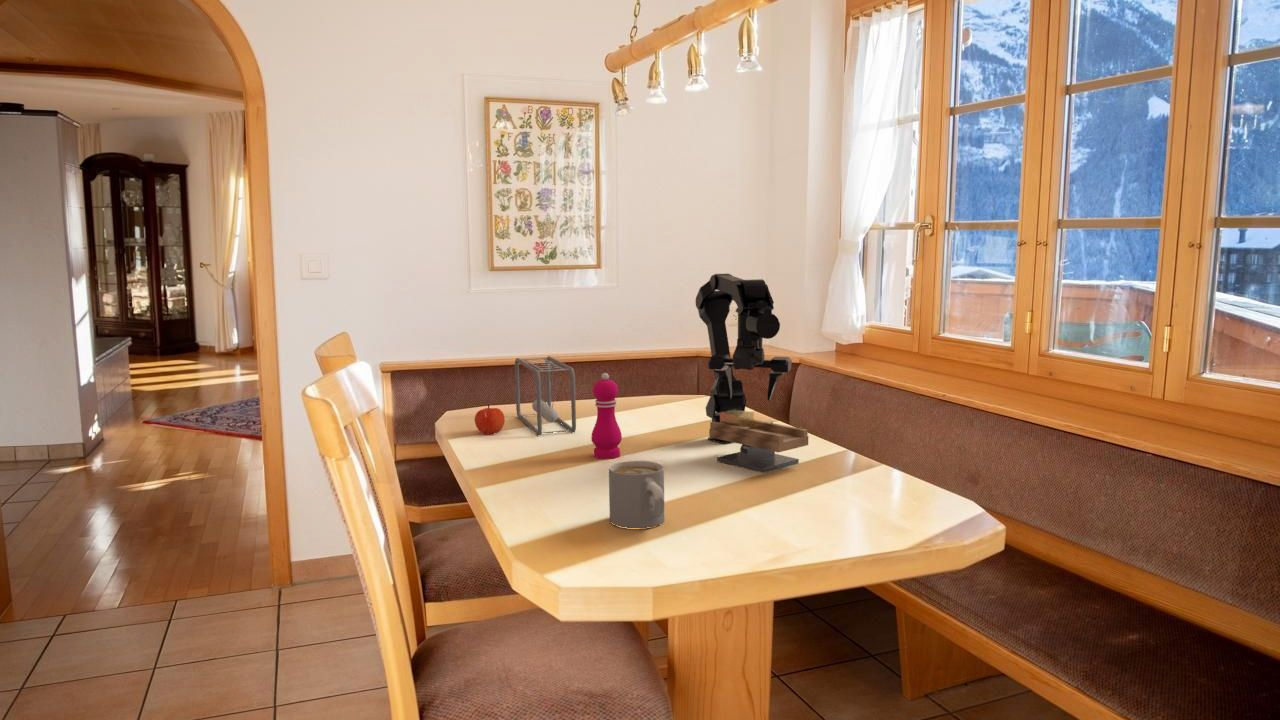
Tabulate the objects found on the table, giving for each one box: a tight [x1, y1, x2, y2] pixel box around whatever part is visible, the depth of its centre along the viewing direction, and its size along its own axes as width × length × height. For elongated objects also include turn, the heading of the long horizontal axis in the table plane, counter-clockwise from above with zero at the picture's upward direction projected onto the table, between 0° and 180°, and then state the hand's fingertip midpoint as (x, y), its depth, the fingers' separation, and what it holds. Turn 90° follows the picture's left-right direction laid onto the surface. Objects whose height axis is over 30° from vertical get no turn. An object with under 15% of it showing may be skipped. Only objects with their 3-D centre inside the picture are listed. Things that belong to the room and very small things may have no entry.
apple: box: [474, 403, 506, 435], centre depth 233 cm, size 8×8×8 cm
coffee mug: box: [608, 460, 666, 528], centre depth 155 cm, size 13×10×10 cm
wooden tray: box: [708, 419, 809, 453], centre depth 197 cm, size 21×10×4 cm, turn 40°
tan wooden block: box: [720, 409, 755, 429], centre depth 202 cm, size 6×5×4 cm
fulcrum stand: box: [716, 444, 800, 474], centre depth 198 cm, size 14×12×5 cm
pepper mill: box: [590, 372, 623, 460], centre depth 205 cm, size 7×7×20 cm
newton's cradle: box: [514, 355, 577, 436], centre depth 243 cm, size 30×10×18 cm, turn 19°
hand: (749, 399), depth 204 cm, fingers open, 9 cm apart
